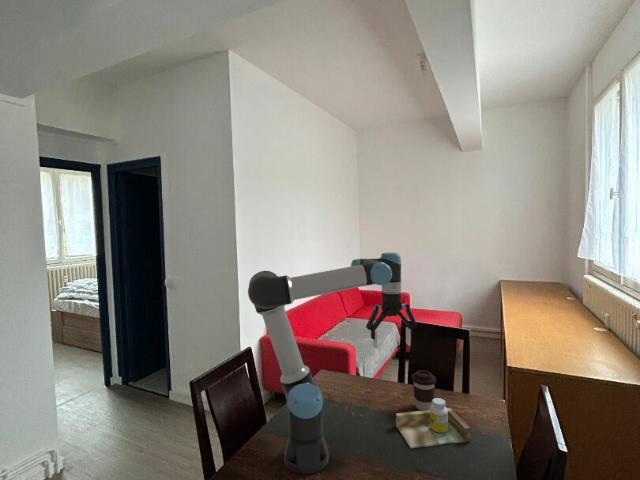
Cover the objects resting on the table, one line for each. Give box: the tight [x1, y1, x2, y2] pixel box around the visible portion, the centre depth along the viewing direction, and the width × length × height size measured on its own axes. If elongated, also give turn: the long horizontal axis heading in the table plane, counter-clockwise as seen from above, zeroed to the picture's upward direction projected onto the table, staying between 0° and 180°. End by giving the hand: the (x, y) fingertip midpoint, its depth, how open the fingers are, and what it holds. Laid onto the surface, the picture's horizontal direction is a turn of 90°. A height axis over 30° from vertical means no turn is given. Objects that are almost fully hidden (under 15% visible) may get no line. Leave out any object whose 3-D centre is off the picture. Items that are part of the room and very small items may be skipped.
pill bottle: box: [430, 397, 448, 435], centre depth 130 cm, size 6×6×12 cm
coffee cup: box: [411, 369, 437, 411], centre depth 148 cm, size 10×10×15 cm
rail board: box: [395, 407, 472, 449], centre depth 129 cm, size 23×14×5 cm, turn 99°
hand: (391, 345), depth 134 cm, fingers open, 13 cm apart
